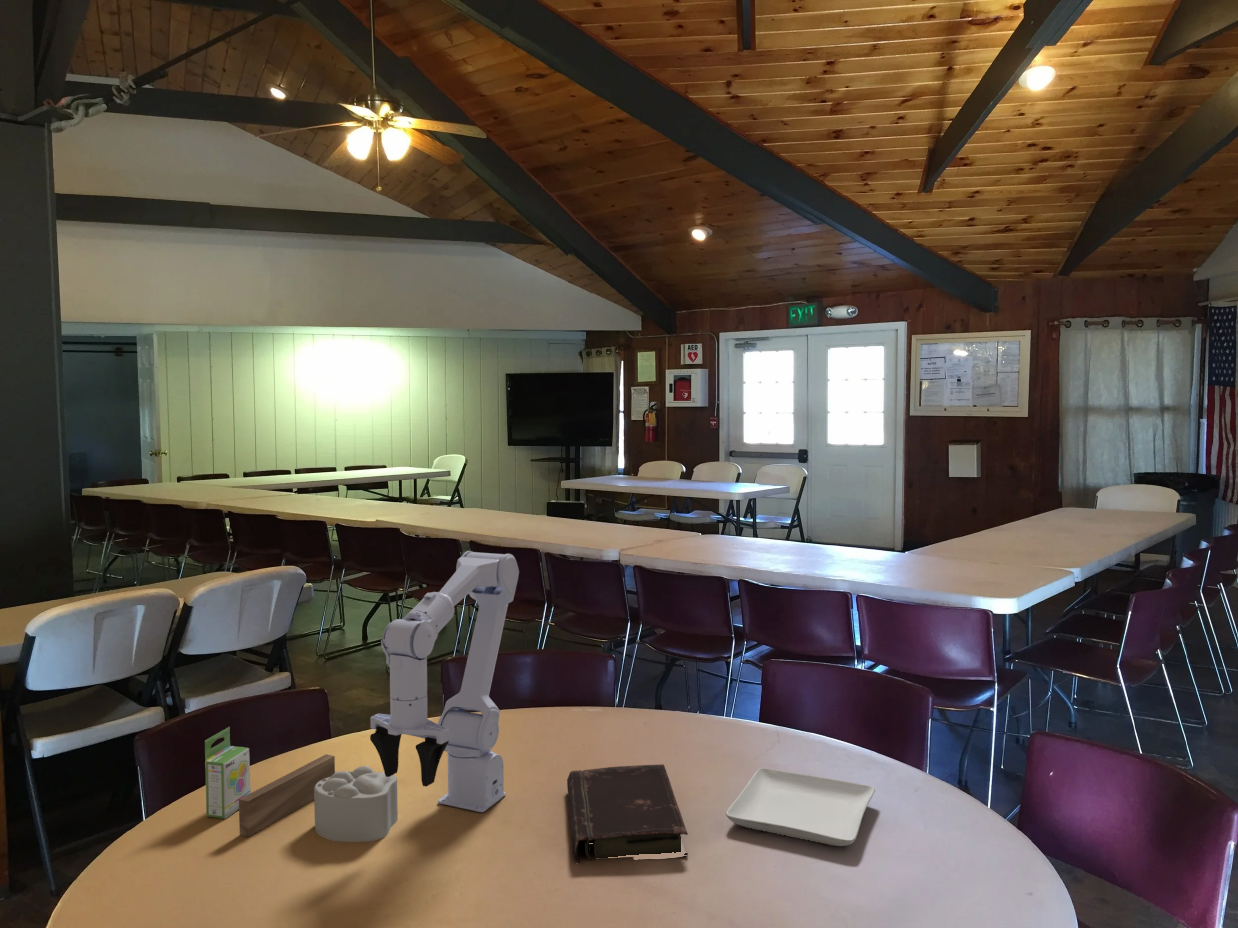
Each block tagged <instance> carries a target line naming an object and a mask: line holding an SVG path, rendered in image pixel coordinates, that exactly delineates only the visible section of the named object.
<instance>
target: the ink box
mask: <svg viewBox="0 0 1238 928" xmlns="http://www.w3.org/2000/svg"><path fill="white" fill-rule="evenodd" d="M230 729H231V727H230V726H228V727H226V728H225V729H223V730H221V731H220V732H217V733H216V734H214V735H212V736H211V737H209V738H207V739H206V740H204V755H205V756H204V757H205V758H204V759H205V761H204V766H205V810H206V811H205V812H206V814H205V816H206V817H209V818H216V819H223V820H225V819H226V820H227V818H229V817H231V816H232V815H233V814H234V813H236V812H237V811H239V799H240V798H242V797H244V796H246V795H248V794H250V793H252V791H251V790H252V789H251V770H250V769H251V767H250V765H251V764H250V748H249V747H244V746H234V745H231V738H230V737H231V733H230V732H231V731H230ZM221 738H222V739H223V738H224V739H223V741H221V742H219V743H218V744H217V745H215V746H213V747H212V745H213V744H214V743H215V742H216V741H217V740H218V739H221Z"/></svg>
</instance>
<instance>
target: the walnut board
mask: <svg viewBox="0 0 1238 928" xmlns="http://www.w3.org/2000/svg"><path fill="white" fill-rule="evenodd" d="M335 757H336V756H335V755H330V754H324V755H322V756H320V757H318V758H317V759H314V760H312V761H310V762H309V763H307V764H304V765H302V766H300V767H299V768H297V769H295V770H293V771H291V772H289V773H287V774H285V775H283V776H281V777H279V778H278V779H276V780H274V781H271V782H270V783H268V784H265V785H263V786H262V787H260V788H258V789H256V790H253V791H251V793H250V794H248V795H246V796H244V797H242V798H240V799H239V810H238V815H239V816H238V817H239V818H238V821H239V824H238V825H239V836H242V837H246V838H251V837H253V836H254V835H255V833H256V834H258V833H259V832H261V831H263V830H264V829H267V828H268V827H270V826H271V825H273V824H274V823H277V822H278V821H280V820H282V819H284V818H285V817H287V816H289V815H290V814H292V813H294V812H296V811H297V810H300V809H301V808H303V807H305V806H307V805H308V804H310V803H311V802H313V801H314V787H315V785H316V784H317V783H318V782H319V781H321V780H323V779H324V778H328V777H331V776H332V775H333V774H334V773H336V768H335V767H336V764H335V761H336V760H335V759H336V758H335ZM262 829H263V830H262ZM260 830H261V831H260Z"/></svg>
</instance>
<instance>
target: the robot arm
mask: <svg viewBox="0 0 1238 928" xmlns="http://www.w3.org/2000/svg"><path fill="white" fill-rule="evenodd" d="M455 566H456V567H455V569H456V570H455V572H454V573H453V575H451V577H450V578H449V579H448V580H447V581H446V583H445V584H444V586H443V587H442V588H441V589H440V590H439V591H437V592H436V591H432V592H427V593H426V594H425V595H424V596H423V598H422V599H421V600H420V601H419V602H418V603H417V604H416V605H415V606H414V607H413V608H412V609H411V610H410V611H409V612H408V613H407V614H406V615H405V616H404V617H403V618H402V619H401V618H398V619H394V620H393V621H391V622H389V623H388V624H387V625H386V627H385V628H384V631H383V635H382V639H381V640H380V645H381V648H382V649H381V650H382V651H383V653H384V655H385V659H386V660H385V663H386V665H387V667H388V668H389V697H390V698H389V699H390V700H389V701H390V703H389V705H390V710H389V711H390V713H389V714H387V713H386V714H384V713H376V714H374V715H372V716H370V719H369V720H370V729H371V730H375V732H373V733H371V734H370V735H369V738H370V739H369V740H370V742H371V743H372V744H373V746H374V747H375V749H376V751H377V753H378V756H379V759H380V762H381V765H382V768H383V772H384V773H385V776H386V777H390V776H392V775H395V774H397V773H398V770H399V755H400V754H399V752H400V751H399V750H400V744H401V739H402V735H407V736H411V737H417V738H421V739H424V741H422V742H420V743H418V744H416V745H415V750H416V752H417V755H418V760H419V763H420V776H421V784H422V786H423V787H428V786H430V785H432V784H433V783H435V779H436V776H437V771H438V768H439V764H440V761H441V758H442V757H443V754H444V752H447V793H446V794H444V795H443V796H442V797H440V798H438V800H437V803H438V804H441V805H446V806H449V807H455V808H460V809H464V810H470V811H473V812H478V813H484V812H486V811H487V810H488V809H489V808H491V807H492V806H494V805H495V804H496V803H497V802H498V801H500V800H501V799H502V798H504V797H505V796H506V795H507V792H506V791H504V790H505V789H504V787H505V786H504V783H505V781H504V777H505V776H504V772H505V771H504V760H503V757H502V756H501V755H500V754H498V753H495V752H493V751H492V749H493V748H494V747H495V746H496V744H497V741H498V738H499V733H500V726H499V720H500V713H501V711H500V709H499V708H498V706H497V705H496V703H495V702H494V701H493V700H492V699H491V697H490V691H491V688H492V687H491V686H492V683H493V682H492V681H493V677H494V672H495V667H496V664H497V660H498V654H499V648H500V644H501V639H502V636H503V635H502V634H503V629H504V626H505V621H506V616H507V611H508V607H509V604H510V603H512V602H514V599H515V598H514V597H515V593H516V591H517V585H518V581H519V574H520V570H519V569H520V568H519V566H518V562H517V560H516V558H515V556H514V555H513V554H511V553H505V554H503V553H489V552H477V551H475V552H474V551H473V550H467V551H465V552H464V553H463V554H462V555H461V556H460V557H459V558H458V559H457V562H456V565H455ZM468 595H469V596H470V597H471V598H472V599H473V600H475V601H476V602H477V605H478V611H477V615H476V619H475V624H474V628H473V633H472V637H471V641H470V646H469V651H468V654H467V660H466V664H465V668H464V673H463V678H462V682H461V687H460V690H459V691H458V693H457V694H455V695H454V696H451V697H450V698H448V700H446V702H445V705H444V708H443V711H442V713H441V716H440V717H439V719H438V721H437V722H434V721H433V720H431V719H429V718H428V667H427V666H428V656H430V655H431V653H432V651H433V650H434V646H435V642H436V640H437V639H438V637H439V633H440V632H441V631H442V629H443V628H444V627H446V625H447V624H448V623H449V622H450V621H451V619H453V617H454V615H455V606H456V605H457V604H458V603H459V602H461V601H462V600H463V599H464V598H465V597H467V596H468ZM470 597H469V598H470ZM467 711H469V712H467ZM470 711H473V712H474V713H473V712H470ZM475 712H479V713H475Z"/></svg>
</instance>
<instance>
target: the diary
mask: <svg viewBox="0 0 1238 928" xmlns="http://www.w3.org/2000/svg"><path fill="white" fill-rule="evenodd" d="M667 772H668V771H667V769H666V767H665V764H663V763H662V764H661V763H660V764H638V765H619V766H610V767H609V766H608V767H600V768H590V769H584V770H582V769H581V770H580V769H579V770H571V771H570V772H569V774H568V777H567V779H566V782H567V783H566V785H567V794H568V795H567V796H568V805H569V809H568V810H569V823H570V831H571V847H572V848H571V850H572V853H571V854H572V856H573V860H574V863H575V862H576V863H579V864H580V856H579V842H581V841H583V842H584V843H583V844H584V853H585V855H586V858H587V860H588V859H590V855H591V849H590V850H589V843H593V845H592V848H593V852H594V853H593V854H594V856H595V859H596V858H608V857H618V856H626V855H639V854H661V853H672V852H674V853H676V852H681V838H682V836H681V835H686V836H688V835H689V834H688V833H689V832H688V831H687V828H686V825H685V822H684V820H683V816H682V813H681V810H680V808H679V805H678V802H677V800H676V797H675V793H674V790H673V787H672V785H671V784H672V783H671V780H670V777H669V775H668V773H667ZM684 855H687V856H689V853H688V852H687V853H685V854H684ZM578 856H579V857H578ZM576 863H575V864H576Z"/></svg>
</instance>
